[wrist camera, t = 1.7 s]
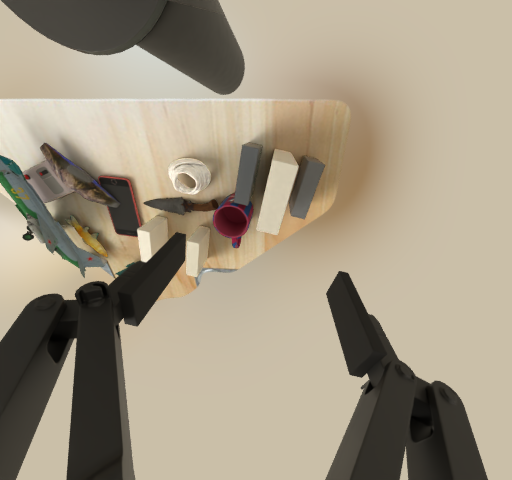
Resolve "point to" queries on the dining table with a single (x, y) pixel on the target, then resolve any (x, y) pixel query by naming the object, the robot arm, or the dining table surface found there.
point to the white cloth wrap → (192, 169)
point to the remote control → (46, 182)
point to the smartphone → (122, 205)
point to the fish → (87, 236)
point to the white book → (277, 191)
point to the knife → (181, 205)
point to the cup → (233, 219)
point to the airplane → (42, 218)
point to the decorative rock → (77, 178)
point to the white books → (157, 236)
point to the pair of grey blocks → (302, 187)
